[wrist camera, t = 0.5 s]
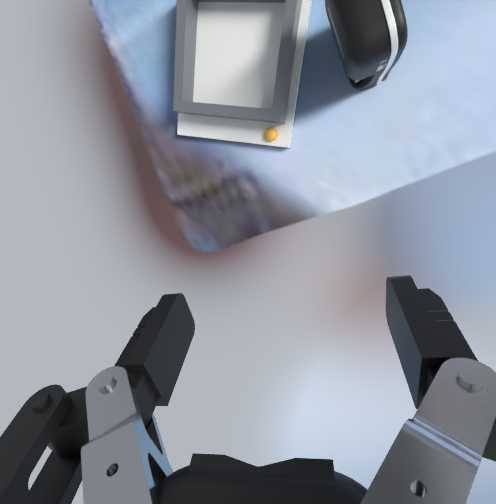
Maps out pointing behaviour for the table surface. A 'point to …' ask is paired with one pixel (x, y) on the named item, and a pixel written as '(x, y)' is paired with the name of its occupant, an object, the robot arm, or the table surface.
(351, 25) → the battery charger
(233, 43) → the charging dock
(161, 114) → the table surface
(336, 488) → the robot arm
